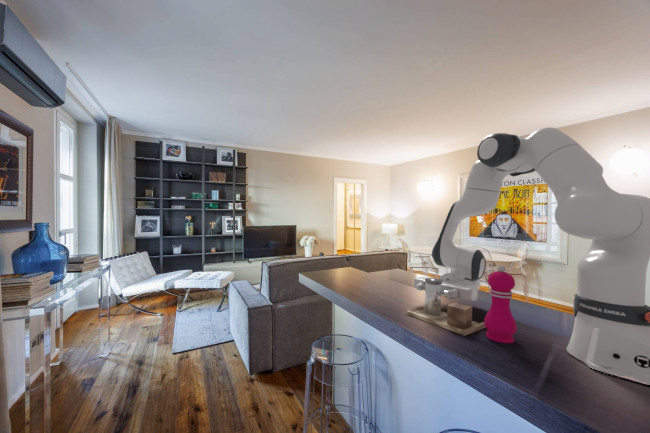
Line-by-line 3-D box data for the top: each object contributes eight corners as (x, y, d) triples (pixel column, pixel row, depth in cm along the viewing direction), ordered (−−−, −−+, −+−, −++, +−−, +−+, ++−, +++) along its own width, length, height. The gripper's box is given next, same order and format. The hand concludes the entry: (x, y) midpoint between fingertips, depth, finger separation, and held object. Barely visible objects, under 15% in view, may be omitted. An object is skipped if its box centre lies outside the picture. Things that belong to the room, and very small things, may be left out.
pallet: (488, 330, 80) (488, 322, 80) (464, 340, 73) (464, 331, 73) (430, 311, 96) (430, 304, 96) (406, 317, 88) (406, 310, 88)
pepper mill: (485, 334, 77) (487, 262, 77) (516, 341, 73) (518, 265, 73) (482, 343, 71) (484, 265, 72) (516, 351, 67) (518, 269, 67)
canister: (444, 314, 89) (445, 280, 89) (434, 317, 86) (435, 282, 86) (430, 310, 93) (431, 277, 93) (420, 312, 90) (421, 278, 90)
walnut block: (471, 327, 79) (472, 306, 79) (465, 332, 75) (466, 310, 75) (453, 322, 82) (454, 302, 82) (446, 326, 79) (447, 305, 79)
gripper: (425, 271, 106) (404, 275, 97) (482, 282, 90) (463, 287, 81) (424, 288, 106) (403, 293, 97) (482, 301, 90) (463, 309, 81)
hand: (431, 290), depth 89 cm, fingers open, 8 cm apart
